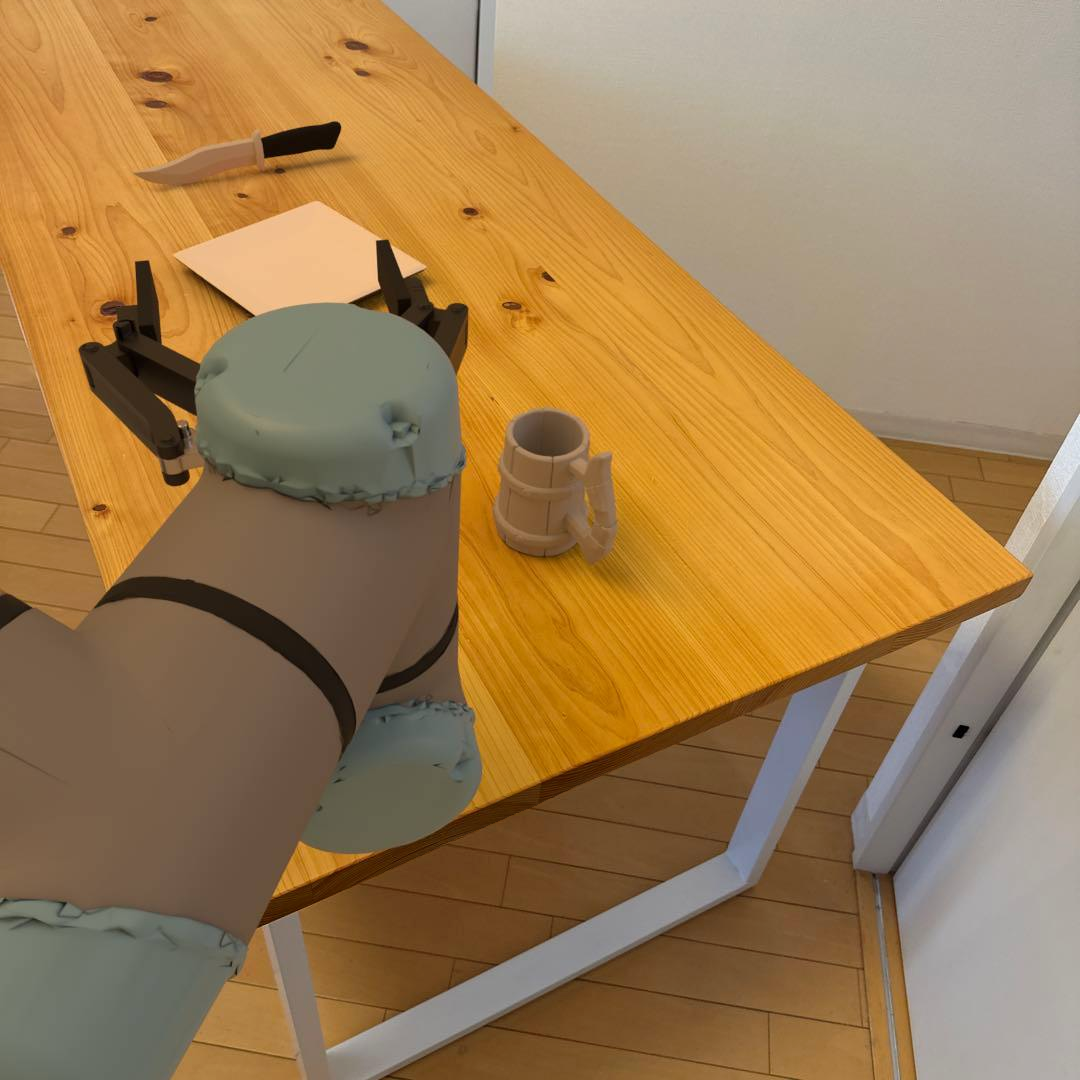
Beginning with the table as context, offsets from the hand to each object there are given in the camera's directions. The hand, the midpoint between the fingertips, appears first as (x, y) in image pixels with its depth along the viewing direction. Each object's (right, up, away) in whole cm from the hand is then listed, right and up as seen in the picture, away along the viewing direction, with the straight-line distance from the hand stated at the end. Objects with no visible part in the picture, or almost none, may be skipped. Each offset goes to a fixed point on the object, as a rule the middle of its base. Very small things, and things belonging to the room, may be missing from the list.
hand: (268, 270), depth 59 cm
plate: (-9, +12, +47) cm, 49 cm away
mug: (+17, -16, +22) cm, 32 cm away
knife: (-20, +28, +62) cm, 70 cm away
